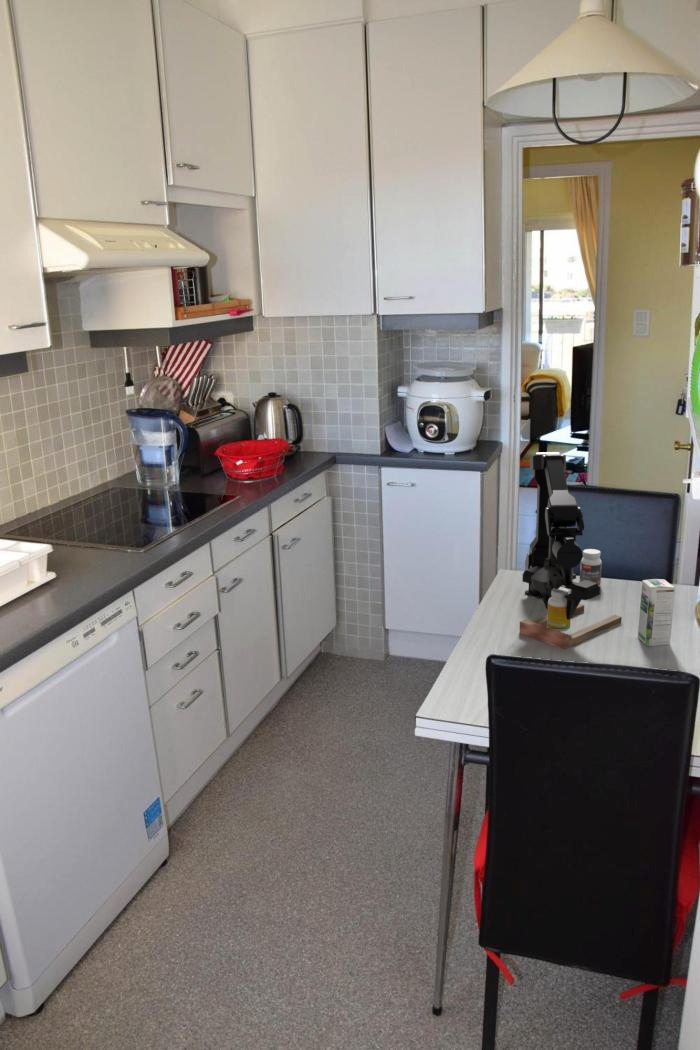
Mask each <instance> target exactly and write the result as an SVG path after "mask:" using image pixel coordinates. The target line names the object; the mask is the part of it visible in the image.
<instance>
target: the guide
mask: <svg viewBox="0 0 700 1050" xmlns="http://www.w3.org/2000/svg"><path fill="white" fill-rule="evenodd" d="M582 612H585V604H581V603H579V605H578V606H577V608H576V610H575V612H574V614H573V616H575V615H578V614H580V613H582ZM547 618H548V614H546V615H545V616H542V617H541V618H538V619H535V620H533V621H530V620H528V619H523V620H520V621H519V634H521V635H524V636H526V637H529V638H532V639H533V640H537V641H540V642H543V643H546V644H548V645H551V646H554V647H556V648H559V649H561V650H565V649H568V647H571V646H573V645H576V644H578V643H580V642H582V641H584V640H586V639H589V638H591V637H593V636H596V635H598V634H600V633H602V632H604V631H606V630H608V629H611V628H613V627H615V626H617V625H619V624H622V619H623V618H622V616H621V615H617V614H612V615H610V616H608V617H606V618H603V619H602V620H599V621H597V622H595V623H592V624H590V625H589V626H586V627H583V628H581V629H578V630H576V631H574V632H572V633H570V634H568V633H565V632H563V631H562V632H560V631H557V630H554V629H551V628H548V627H547Z"/></svg>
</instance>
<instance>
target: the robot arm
mask: <svg viewBox="0 0 700 1050" xmlns="http://www.w3.org/2000/svg"><path fill="white" fill-rule="evenodd" d="M529 468H530V471H531V475H532V476H533V478H534V481H535V482H536V484H537V496H536V498H537V499H536V500H537V502H536V520H535V521H536V522H535V523H536V527H535V537H534V539H532V541H531V542H530V544H529V550H528V552H527V554H526V557H525V562H524V569H525V570H524V571H523V573H522V582H523V583H526V584H528V589H527V590H525V591H524V594H526V595H529V596H533V597H536V598H539V599H540V600H542V601H543V604H544V607H545V610H546V613H547V614H548V600H549V598H550V597H552V596H551V591H552V589H553V588H554V589H559V588H560V587H562V588H566V589H568V590H569V593H568V594H567V595H565V596H564V597H565V598H566V600H567V612H566V615H567V620H570V621H571V619H572V617H573V616H574V615H573V614H574V612H575V610H576V608H577V606H578V605H579V604H581V602H582V601H588V600H590V599H592V598H595V597H597V596H600V594H601V585H600V586H599V585H598V583H594V582H591V581H587V580H584V581H581V582H579V581H578V582H575V581H573V580H576V579H577V574H576V573H574V568H575V567H578V566H579V565H580V562H581V560H582V558H583V557H584V556H583V550H582V549H581V547H580V546H579V544H578V542H577V540H576V538H577V536H580V537H581V536H583V535H584V534H583V531H585V522H584V516H583V511H582V509H581V507H580V506H578V503H577V499H576V497H574V496H573V495H572V494H571V493H570V492H569V488H568V483H567V480H566V474H565V470H567V455H566V454H562V453H560V451H546V452H544V451H543V452H538V451H537V452H535V453H534V455H532V456H530V458H529Z"/></svg>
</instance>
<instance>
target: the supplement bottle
mask: <svg viewBox="0 0 700 1050" xmlns="http://www.w3.org/2000/svg"><path fill="white" fill-rule="evenodd" d="M567 594H569V589H567V588H564V587H560V588H559V589H554V588H553V589H552V591H551V596H552V597H550V598H549V600H548V613H547V615H548V618H547V627H548V628H551V629H554V630H557V631H560V632H562V633H563V632H567V631H569V630H570V629H571V619H570V620H567V615H566V612H567V600H566V598H565V597H564V596H565V595H567Z"/></svg>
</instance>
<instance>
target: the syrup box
mask: <svg viewBox="0 0 700 1050" xmlns="http://www.w3.org/2000/svg"><path fill="white" fill-rule="evenodd" d="M675 590H676V587H675V586H673V585H672V584H671V583H670V582H668V581H667V580H666V579H661V578H660V579H659V578H652V579H643V580H642V582H641V592H640V593H641V594H640V604H639V606H640V607H639V616H638V617H639V618H638V626H637V627H638V629H637V630H638V631H637V638H638V639H640V640H641V642H642V643H644V645H645V646H647V647H655V646H656V647H657V646H668V645H671V640H672V639H671V638H672V627H673V616H674V606H675V605H674V604H675V594H676V593H675V592H676V591H675Z"/></svg>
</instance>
